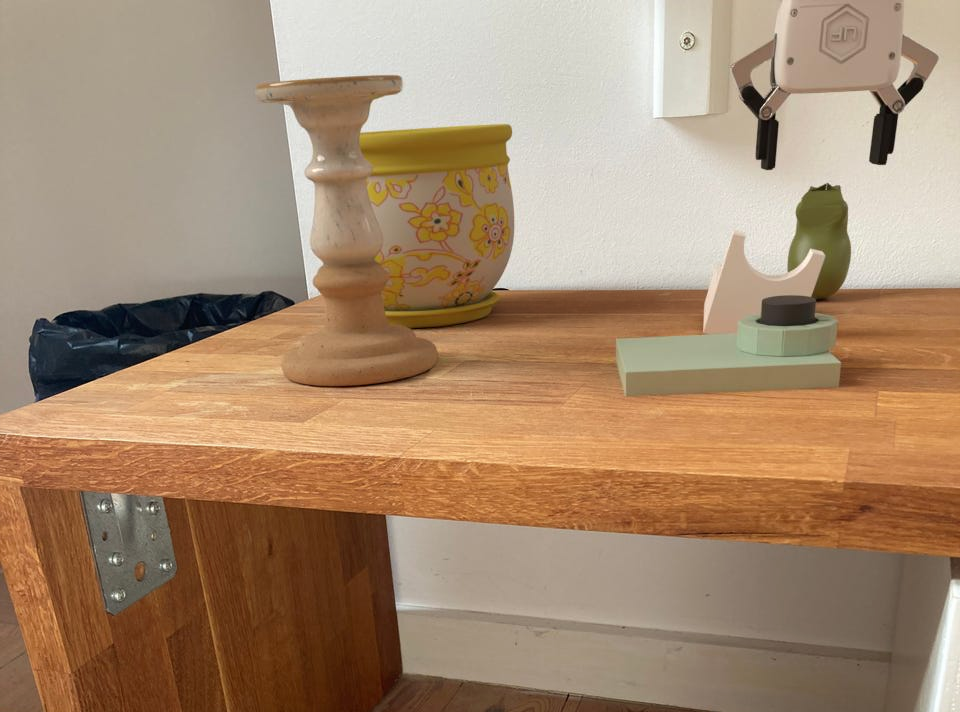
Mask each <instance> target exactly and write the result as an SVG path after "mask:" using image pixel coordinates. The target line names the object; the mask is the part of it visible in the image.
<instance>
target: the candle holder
mask: <svg viewBox="0 0 960 712" xmlns="http://www.w3.org/2000/svg"><path fill="white" fill-rule="evenodd" d="M403 89H404V80H403V77H402V76H401V75H398V74H376V75H375V74H374V75H373V74H371V75H353V76H334V77H333V76H332V77H320V78H306V79H304V78H303V79H293V80H282V81H281V80H280V81H271V82H263V83H258V84H256V85H255V87H254V95H255V97H256V99H257V101H258V102H260V103H263V104H276V105H283V106H288V107H289V108H291V110H292V112H293V115H294V117H295V119H296V122H297V123H298V125H299V126H300V127H301V128H303V129H304V131H306V132H307V134H308V136H309V139H310V142H311V147H312V157H311V160H310V162H309V164H308V165H306V167H305V168H304V170H303V172H304V173H303V174H304V176H305V178H306V179H307V180H309V181H311V182H312V183H313V185H314V208H313V219H312V225H311V231H310V238H309V244H310V250H311V251H312V253H313V254H314V255H315V256H316V257H317V258H318V259H319V261H321V262H322V264H323V265H321V266H320V267H319V268H318V269H317V273H316V274H315V275H314V276H313V278H312V282H311V283H312V286H313V287H314V288H315V289H316V290H318V293H320V295H322V297H324V329H321V330H318V331H315V332H311V333H309V334H307V335H306V336H304V337H303V338H302V339H300V343H299V345H298V347H295V348H293V349H291V350H289V351H288V352H286V353H285V354H284V356H283V357H282V360H281V371H282V372H283V373H282V374H283V375H284V377H285V378H286V379H288V380H289V381H292V382H293V383H294V382H295V383H298V384H304V385H309V386H319V387H320V386H321V387H347V386H348V387H350V386H362V385H373V384H380V383H386V382H394V381H399V380H403V379H406V378H407V379H408V378H410V377H415V376H418V375H420V374H423V373H425V372H427V371H429V370H430V369H432V368H434V366H435V365H436V364H437V362H438V357H439V355H438V348H437V346H436V345H435V344H434V342H432V341H431V340H429V339H427V338H423V337H420V336H419V337H418V336H417V335H416V334H415V332H414V330H413V329H412V328H407V327H404V326H400V325H391V324H388V322H387V318H386V314H385V309H384V305H383V300H382V294H381V292H382V290H383V289H384V288H385V285H386V283H387V282H388V281H389V273H388V272H387V271H386V270H385V269H383V267H382V265H381V264H380V263H378V262H377V261H375V257H376V256H377V254H378V253H379V252H380V250H381V249H382V246H383V235H382V232H381V229H380V226H379V224H378V222H377V219H376V217H375V214H374V211H373V208H372V205H371V202H370V198H369V194H368V190H367V185H366V178H367V177H369V176H370V175H371V174H372V172H373V166H372V164H371V163H370V162H369V161H367V160H366V159H365V158H364V156H363V155H362V152H361V150H360V144H359V137H360V133H361V131H362V128H363V126H364V125H365V124H366V123H367V121H368V119H369V116H370V111H371V106H372V103H373V101H374V100H378V99H381V98H384V97H389V96H395V95H398V94H401V92H403Z"/></svg>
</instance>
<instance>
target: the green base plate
mask: <svg viewBox="0 0 960 712" xmlns="http://www.w3.org/2000/svg"><path fill="white" fill-rule="evenodd" d="M760 321H761V314H755V315H749V316H746V317H744V318H742V319H740V320H738V327H737V333H728V334H691V335H689V334H688V335H671V336H669V335H668V336H666V335H665V336H645V337H628V338H627V337H626V338H625V337H624V338H615V364H616V367H617V370H618V375H619V378H620V382H621V386H622V390H623V394H624V396H625V397H643V396H646V397H647V396H665V395H666V396H667V395H689V394H691V395H692V394H710V393H711V394H712V393H716V394H717V393H734V392H735V393H736V392H757V391H759V392H760V391H761V392H763V391H780V390H781V391H783V390H784V391H785V390H804V389H805V390H806V389H827V388H828V389H829V388H839V387H840V379H841V369H842V361H840V360H839V359H838V358H836V356H834V355H833V354H832V353H831V352H830V351H831V350H833V349H834V348H835V347H836V346H837V336H838V335H837V334H838V325H839V320H838V319H837V318H836V317H834V316H833V315H831V314H825V313H818V312H815V320H814V324H809V325H803V326H769V325H764V324H760Z"/></svg>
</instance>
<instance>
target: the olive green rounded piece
mask: <svg viewBox="0 0 960 712" xmlns="http://www.w3.org/2000/svg"><path fill="white" fill-rule="evenodd" d="M841 188H842V187H841V185H840V184H836V185H832V184H830V183H829V182H827V183H824V184H822V185H819V186H818V187H816V186H812V185H811V186H810V187H809V189H808V190H807V191H806V193H804V195H802V197H801V200H800V202H799V203H798V204H797V205H796V207H795V217H796V224H795V225H796V227H795V234H794V236H793V238H792V240H791V242H790V244H789V245H790V246H789V249H788V254H787V264H786V267H787V268H786V269H787V271H786V273H788V272H790V271H792V270H794V269H795V268H797V267H798V266H799V265H800V264H801V263H802V262H803V261H804V259H805V258H806V256H807V255H808V253H809V250H810V248H811V249H815V250H819V251H822V252H823V253H824V254H825V259H824V262H823V264H822V267H821V270H820V273H819V276H818V279H817V282H816V284H815V287H814V290H813V293H812V296H811V297H813V298H815V299H816V300H822V299H826V298H829V297H831V296H832V295H834V294H836V293H837V292H838V291H839V290H840V289H841V288H842V286H843V285H844V283H845V280H846V279H847V276H848V272H849V269H850V264H851V259H852V243H851V239H850V236H849V234H848V222H849V207H848V206H849V205H848V202H846V200H844V197H843V194H842V189H841Z"/></svg>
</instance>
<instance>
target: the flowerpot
mask: <svg viewBox="0 0 960 712" xmlns="http://www.w3.org/2000/svg"><path fill="white" fill-rule="evenodd" d="M512 137H513V127H512V125H510V124H508V123H496V124H495V123H494V124H492V123H491V124H473V125H456V126H439V127H437V126H436V127H425V128H424V127H423V128H421V127H420V128H407V129H393V130H392V129H391V130H378V131H376V130H375V131H363V132H360V137H359V144H360V150H361V152H362V155H363V156H364V158H365V159H366V160H367V161H369V162H370V163H371V164H372V166H373V172H372V174H371V175H370V176H369V177H367V178H366V185H367V190H368V194H369V198H370V202H371V205H372V208H373V211H374V214H375V217H376V219H377V222H378V224H379V226H380V229H381V232H382V235H383V246H382V249H381V250H380V252H379V253H378V254H377V256H376V257H375V261H377V262H378V263H380V264H381V265H382V267H383V269H385V270H386V271H387V272H388V273H389V281H388V282H387V283H386V285H385V288H384V289H383V290H382V292H381V294H382V300H383V305H384V309H385V314H386V318H387V322H388V324H391V325H400V326H404V327H407V328H410V329H421V328H423V329H425V328H437V327H445V326H446V327H447V326H454V325H459V324H464V323H469V322H474V321H477V320H481V319H483V318H485V317H487V316H489V314H490V313H491V312H492V309H493V306H494V305H495V304H496V303H497V302H499V301H500V297H501V296H500V295H499V294H498V293H497V292H495V291H493V289H494V288H495V287H496V286H497V284H498V283H499V282H500V280H501V278H502V276H503V274H504V272H505V270H506V269H507V266H508V264H509V262H510V257H511V254H512V251H513V246H514V239H515V208H514V197H513V190H512V185H511V180H510V174H509V164H510V161H511V159H510V156H509V155H508V152H507V142H508V141H509V140H511V138H512Z"/></svg>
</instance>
